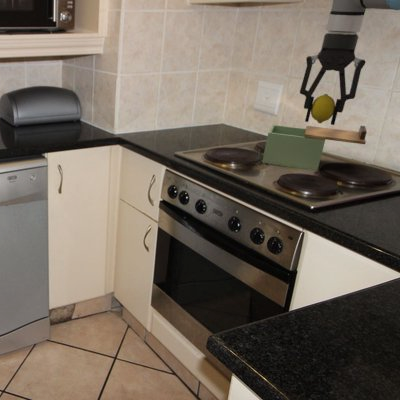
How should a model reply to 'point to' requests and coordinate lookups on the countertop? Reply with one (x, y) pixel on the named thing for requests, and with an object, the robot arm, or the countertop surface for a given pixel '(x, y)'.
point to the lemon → (323, 108)
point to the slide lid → (337, 134)
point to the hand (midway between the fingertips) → (319, 122)
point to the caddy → (292, 148)
